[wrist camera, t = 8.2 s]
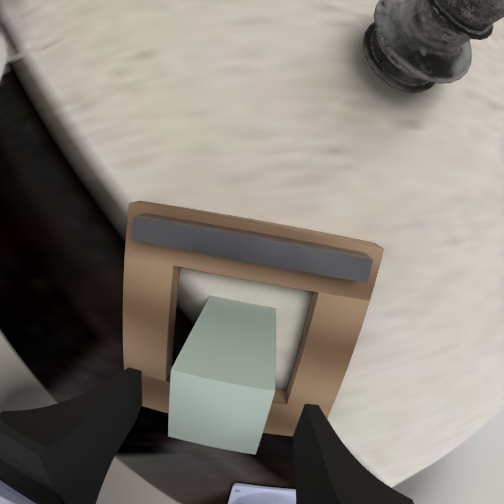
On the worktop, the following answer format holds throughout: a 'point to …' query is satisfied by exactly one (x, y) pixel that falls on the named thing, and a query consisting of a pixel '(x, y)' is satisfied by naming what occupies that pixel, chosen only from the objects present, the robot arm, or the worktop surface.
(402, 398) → the worktop surface
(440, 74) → the grey chess piece
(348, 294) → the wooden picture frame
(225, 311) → the peg
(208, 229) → the metal rail
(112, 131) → the worktop surface
